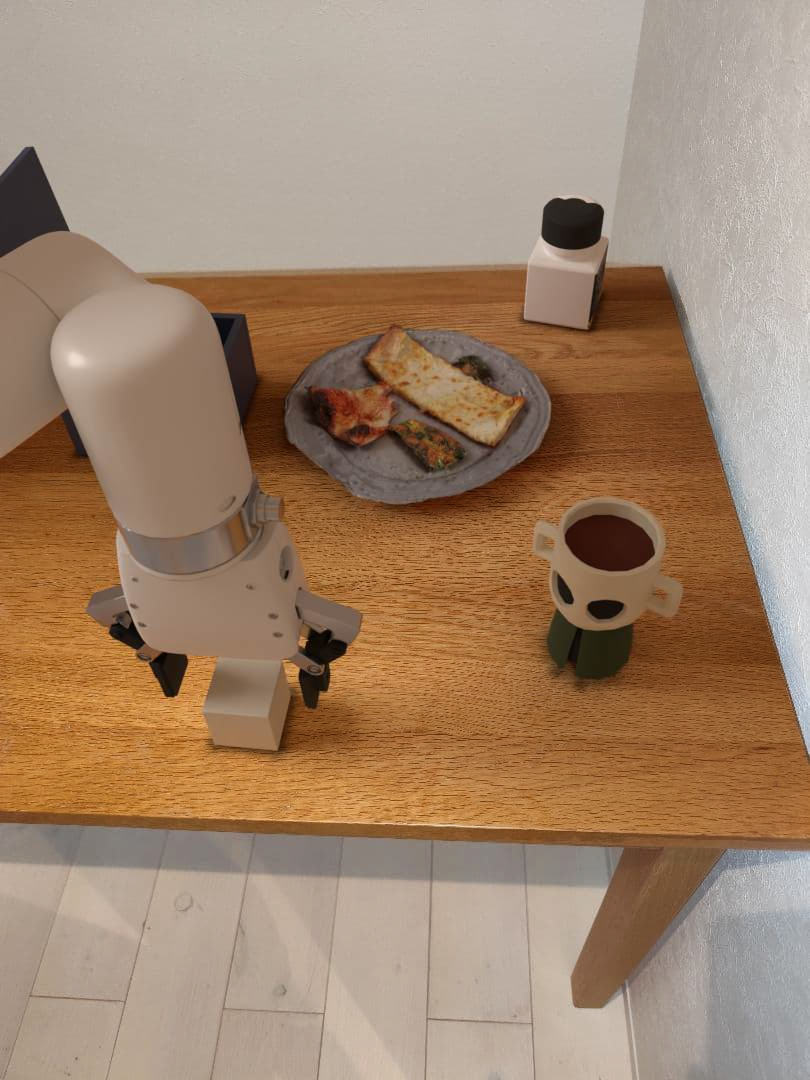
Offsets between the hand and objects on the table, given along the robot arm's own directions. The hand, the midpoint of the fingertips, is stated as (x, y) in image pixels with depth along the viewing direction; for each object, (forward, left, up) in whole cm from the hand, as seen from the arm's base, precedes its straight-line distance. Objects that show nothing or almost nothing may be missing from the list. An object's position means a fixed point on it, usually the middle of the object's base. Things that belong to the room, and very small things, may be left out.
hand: (246, 685), depth 61 cm
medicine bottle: (+22, +54, -5) cm, 58 cm away
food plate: (+8, +34, -5) cm, 35 cm away
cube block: (0, 0, -5) cm, 5 cm away
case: (-16, +33, -5) cm, 37 cm away
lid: (-24, +33, +11) cm, 42 cm away
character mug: (+24, +9, -5) cm, 26 cm away
